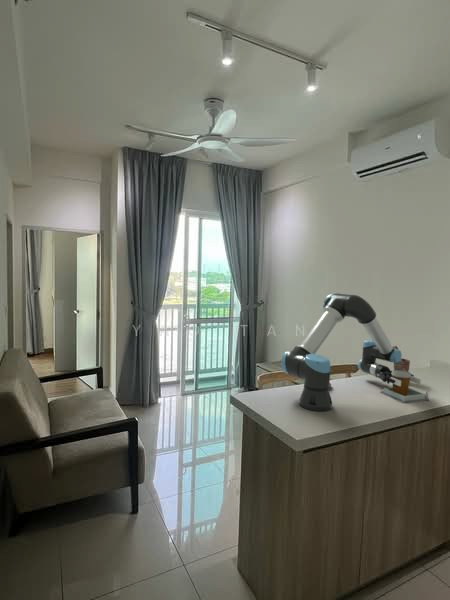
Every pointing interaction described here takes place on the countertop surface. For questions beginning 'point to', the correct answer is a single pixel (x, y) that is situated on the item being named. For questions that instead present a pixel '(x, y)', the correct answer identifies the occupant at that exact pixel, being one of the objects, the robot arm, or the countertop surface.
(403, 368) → the mortar and pestle
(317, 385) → the robot arm
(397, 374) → the disposable coffee cup
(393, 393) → the tray
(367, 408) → the countertop surface
